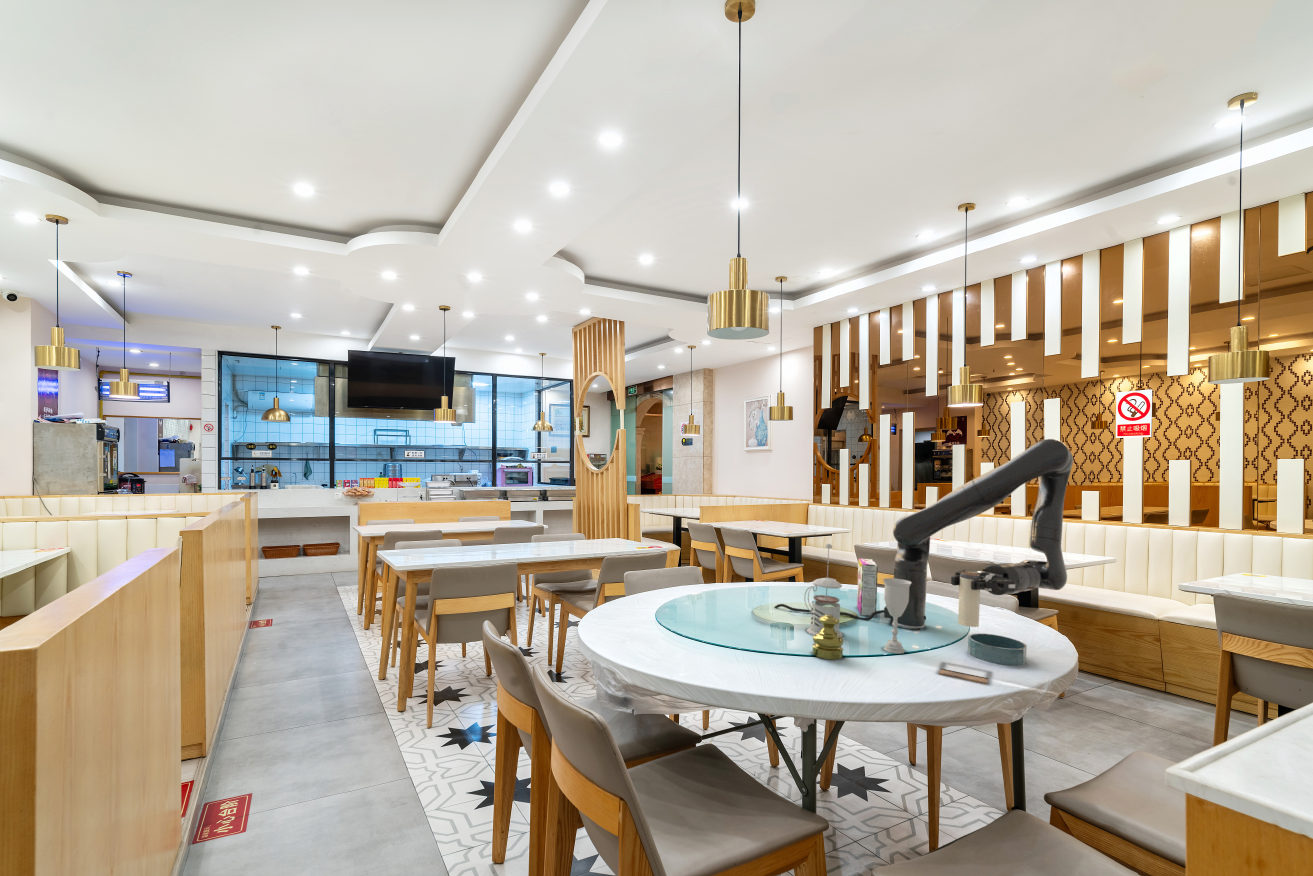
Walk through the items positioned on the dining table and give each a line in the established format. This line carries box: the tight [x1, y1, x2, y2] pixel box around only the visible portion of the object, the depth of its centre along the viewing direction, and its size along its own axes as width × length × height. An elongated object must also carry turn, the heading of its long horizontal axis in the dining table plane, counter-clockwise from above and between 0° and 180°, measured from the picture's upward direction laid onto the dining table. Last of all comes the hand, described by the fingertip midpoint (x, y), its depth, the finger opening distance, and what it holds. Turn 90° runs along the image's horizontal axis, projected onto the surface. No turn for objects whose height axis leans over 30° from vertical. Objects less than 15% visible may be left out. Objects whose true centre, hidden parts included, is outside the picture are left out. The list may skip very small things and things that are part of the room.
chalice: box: [882, 577, 911, 655], centre depth 161 cm, size 7×7×18 cm
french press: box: [803, 543, 844, 638], centre depth 175 cm, size 10×12×25 cm
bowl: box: [967, 632, 1027, 666], centre depth 158 cm, size 13×13×4 cm
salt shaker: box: [811, 614, 845, 661], centre depth 154 cm, size 7×7×10 cm
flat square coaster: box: [938, 668, 989, 685], centre depth 146 cm, size 10×10×1 cm
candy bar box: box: [856, 558, 879, 618], centre depth 200 cm, size 11×5×16 cm, turn 168°
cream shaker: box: [957, 571, 981, 628], centre depth 146 cm, size 4×4×12 cm
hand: (962, 582), depth 145 cm, fingers closed on cream shaker, 4 cm apart
